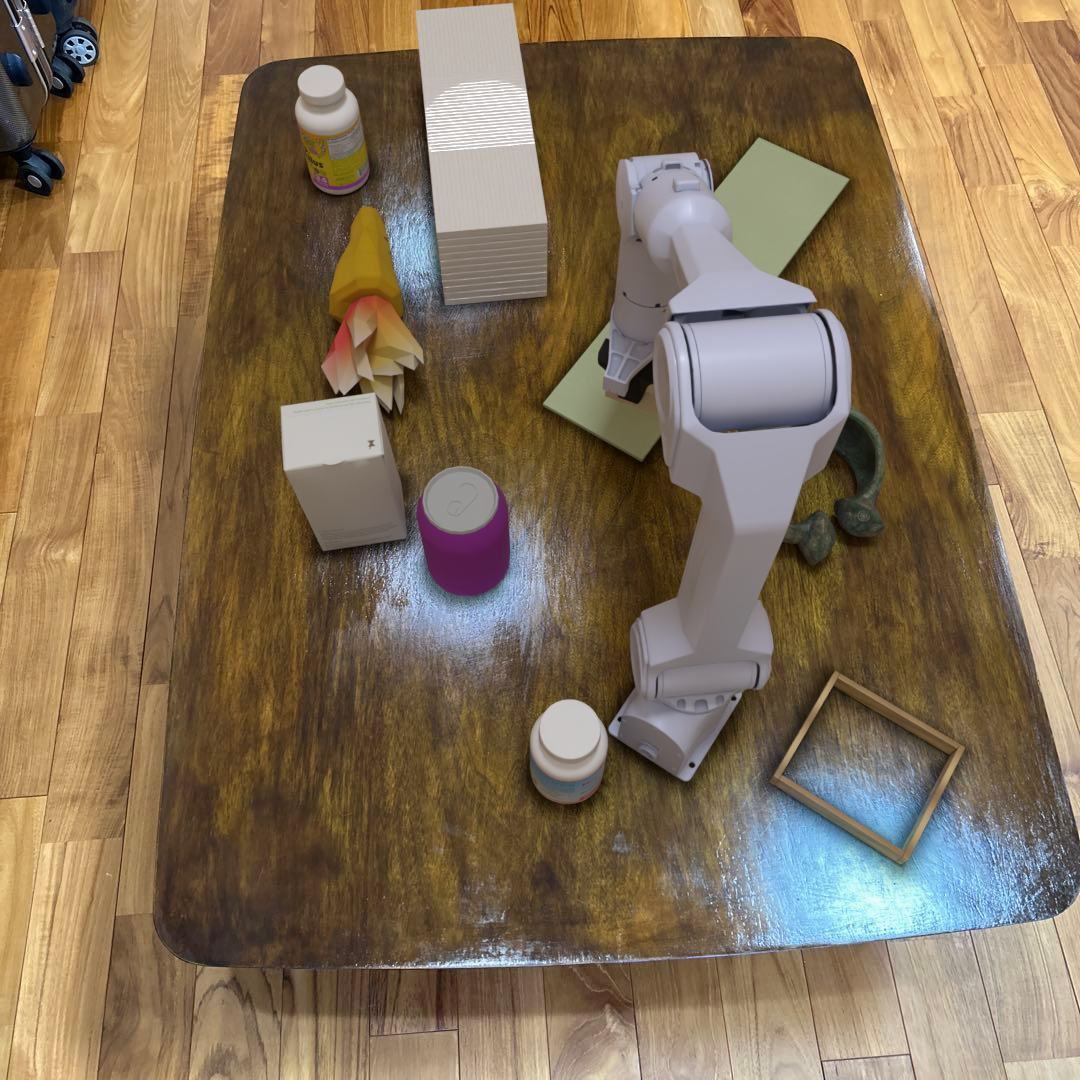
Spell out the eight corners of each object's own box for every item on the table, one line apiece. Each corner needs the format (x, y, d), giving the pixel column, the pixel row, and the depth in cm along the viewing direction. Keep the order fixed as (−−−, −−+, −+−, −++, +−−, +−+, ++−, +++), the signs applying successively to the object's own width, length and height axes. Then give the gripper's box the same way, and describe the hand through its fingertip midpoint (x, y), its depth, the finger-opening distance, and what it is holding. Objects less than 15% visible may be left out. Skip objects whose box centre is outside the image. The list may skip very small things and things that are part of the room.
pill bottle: (596, 812, 88) (603, 776, 78) (523, 797, 89) (521, 760, 79) (609, 741, 91) (617, 698, 81) (538, 727, 92) (538, 683, 81)
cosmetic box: (402, 482, 102) (380, 387, 89) (409, 544, 99) (388, 455, 86) (313, 494, 102) (278, 401, 88) (318, 556, 99) (282, 469, 85)
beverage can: (481, 615, 96) (474, 556, 86) (410, 575, 98) (394, 512, 87) (526, 549, 99) (525, 484, 88) (457, 511, 101) (447, 443, 90)
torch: (385, 261, 119) (395, 433, 105) (315, 240, 116) (316, 414, 102) (412, 204, 114) (427, 377, 100) (340, 180, 110) (345, 356, 96)
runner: (641, 462, 103) (642, 459, 103) (542, 406, 106) (542, 403, 106) (848, 182, 120) (849, 178, 120) (757, 140, 123) (758, 137, 123)
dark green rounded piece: (781, 598, 97) (806, 548, 88) (687, 474, 103) (701, 416, 94) (911, 523, 100) (947, 467, 92) (813, 407, 106) (838, 345, 97)
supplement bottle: (303, 165, 121) (278, 68, 110) (358, 147, 122) (339, 49, 111) (323, 205, 118) (300, 110, 107) (379, 186, 120) (362, 91, 108)
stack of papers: (546, 296, 113) (547, 222, 103) (445, 305, 112) (436, 232, 102) (514, 84, 127) (512, 2, 117) (424, 92, 127) (415, 10, 117)
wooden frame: (900, 865, 86) (908, 860, 85) (768, 782, 89) (773, 776, 88) (957, 753, 90) (965, 747, 89) (829, 678, 94) (835, 670, 92)
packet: (655, 414, 99) (658, 396, 96) (604, 396, 99) (606, 377, 97) (670, 382, 100) (674, 362, 98) (620, 364, 101) (623, 344, 98)
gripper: (666, 363, 83) (650, 456, 95) (729, 232, 89) (706, 335, 101) (581, 333, 84) (576, 428, 96) (649, 206, 90) (636, 310, 102)
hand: (638, 379), depth 98 cm, fingers closed on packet, 4 cm apart
